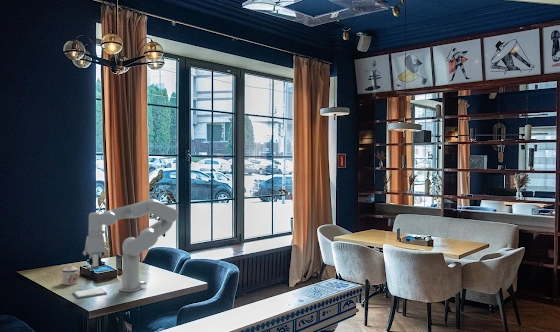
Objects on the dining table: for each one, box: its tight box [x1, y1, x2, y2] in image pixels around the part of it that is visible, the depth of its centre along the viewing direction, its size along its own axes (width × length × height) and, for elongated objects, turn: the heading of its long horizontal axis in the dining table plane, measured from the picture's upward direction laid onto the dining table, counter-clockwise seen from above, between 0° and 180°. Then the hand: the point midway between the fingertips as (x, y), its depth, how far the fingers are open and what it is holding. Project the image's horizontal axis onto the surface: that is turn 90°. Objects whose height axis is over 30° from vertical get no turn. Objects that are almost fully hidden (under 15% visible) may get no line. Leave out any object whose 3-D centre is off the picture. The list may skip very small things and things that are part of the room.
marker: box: [90, 253, 100, 271], centre depth 274 cm, size 4×4×12 cm
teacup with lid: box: [61, 264, 81, 286], centre depth 294 cm, size 12×9×12 cm
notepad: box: [72, 287, 108, 300], centre depth 272 cm, size 16×12×1 cm
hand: (94, 264), depth 274 cm, fingers closed on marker, 3 cm apart
